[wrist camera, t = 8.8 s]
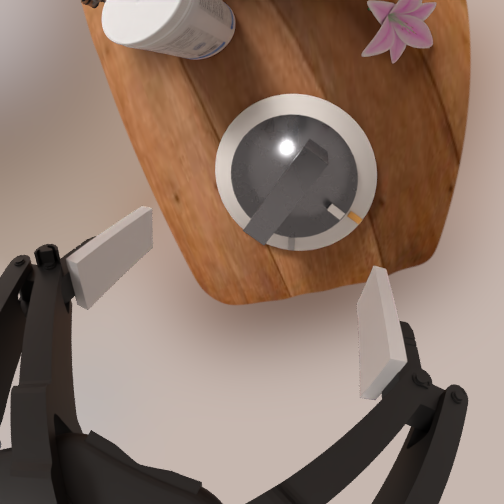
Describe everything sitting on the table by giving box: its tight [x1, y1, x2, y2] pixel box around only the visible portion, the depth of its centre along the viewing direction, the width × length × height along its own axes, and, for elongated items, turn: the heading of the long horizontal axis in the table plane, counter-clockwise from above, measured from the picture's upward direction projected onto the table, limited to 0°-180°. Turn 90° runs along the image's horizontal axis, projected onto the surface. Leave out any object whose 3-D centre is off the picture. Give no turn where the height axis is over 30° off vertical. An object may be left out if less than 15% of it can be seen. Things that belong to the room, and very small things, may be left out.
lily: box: [361, 0, 436, 63], centre depth 19 cm, size 12×12×10 cm
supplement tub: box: [102, 0, 235, 60], centre depth 22 cm, size 10×10×15 cm
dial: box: [231, 114, 358, 245], centre depth 29 cm, size 15×15×9 cm
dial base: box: [215, 94, 377, 251], centre depth 34 cm, size 20×20×2 cm
